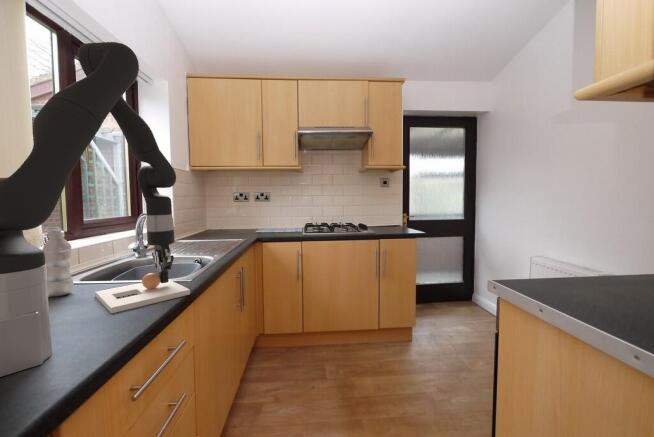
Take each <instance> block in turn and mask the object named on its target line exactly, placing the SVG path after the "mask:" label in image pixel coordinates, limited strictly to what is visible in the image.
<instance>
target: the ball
mask: <svg viewBox="0 0 654 437" xmlns="http://www.w3.org/2000/svg"><path fill="white" fill-rule="evenodd" d="M160 280H161V279H160V276H159V273H156V272H149V273H146V274H145V275H144V276H143V277H142V278H141V283H142V285H143V286H144V287H145V288H147V289H153V288H156V287H157V286H158V285H159V284H160Z"/></svg>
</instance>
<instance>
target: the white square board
mask: <svg viewBox="0 0 654 437" xmlns="http://www.w3.org/2000/svg"><path fill="white" fill-rule="evenodd" d="M168 280H169V281H168V282H167V283H161V282H160V284H159V285H158V286H157V287H156V288H153V289H147V288H145V287H144V286H143V285H142V282H139V283H134V284H128V285H124V286H118V287H112V288H109V289H108V288H107V289H103V290H97V291H94V295H95V298H97V300H98V302H100V303H101V304H102V305H103V306H104V308H106V309H107V311H108V312H109V313H110V314H115V313H118V312H123V311H127V310H132V309H136V308H140V307H143V306H147V305H152V304H155V303H160V302H164V301H168V300H169V301H170V300H172V299H176V298H180V297H184V296H189V295H191V290H190V289H189V288H187V287H185V286H183V285H181V284H179V283H177V282H175V281H172V280H171V279H169V278H168ZM133 294H134V295H133ZM128 295H129V296H128ZM123 296H124V297H123ZM117 297H120V298H117Z"/></svg>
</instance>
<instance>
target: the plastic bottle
mask: <svg viewBox="0 0 654 437" xmlns="http://www.w3.org/2000/svg"><path fill="white" fill-rule="evenodd" d="M65 237H66V235H65V230H51V231H50V230H49V231H47V238H48V240H47V241H46V242H45V244H44V245H43V247H42V250H43V252H44V254H45V263H46V277H47V292H48V297H62V296H65V295H69V294H71V293H72V292H73V290H74V287H75V285H74V284H75V283H74V281H73V278H72V272H71V254H72V245H71V244H70V242H69V241H67V239H65Z"/></svg>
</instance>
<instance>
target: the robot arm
mask: <svg viewBox="0 0 654 437" xmlns="http://www.w3.org/2000/svg"><path fill="white" fill-rule="evenodd" d="M77 58H78V62H79V64H80V67H81V69H82V71H83V73H84V74H85V77H84V78H83V77H82V79H79V80H77V81H76V82H73V83H71V84H69V85H68V86H65V87H64V88H63V89H61V90H59V91H57V92H56V93H54V95H52V96H51V97H50V98H49V99H48V100H47V101H46V103H45V104H44V105H43V106H42V108H41V109H40V110H39V111H38V112H37V114H36V115H35V116H34V119H33V123H32V137H33V139H32V140H33V141H32V142H33V145H32V149H31V152H30V153H29V155H28V156H27V157H26V159H25V160H24V162H23V163H22V164H21V165H20V166H19V167H18V168H17V169H16V170H15V171H14V172H13V173H11V175H10V176H7V177H0V378H1V377H4V376H8V375H11V374H14V373H17V372H21V371H24V370H27V369H30V368H31V369H32V368H33V367H38V366H40V365H43V364H44V362H45V360H47V359H49V358H50V356H52V354H53V345H52V333H51V332H52V331H51V321H50V307H49V305H50V304H49V296H48V292H47V277H46V273H47V270H46V268H47V267H46V263H45V254H44V252H43V249H41V248H39V247H38V246H35V245H33V244H32V243H30V242H29V241H28V240H27V239H26V238H25V235H24V231H28V230H32V229H36V228H38V227H40V226H41V225H43V224H44V223H45V222H47V220H48V219H49V218H50V217H51V215H52V214H53V212H54V210H55V208H56V207H57V204H58V202H59V200H60V198H61V195H62V193H63V191H64V188H65V186H66V185H67V182H68V180H69V178H70V176H71V174H72V172H73V171H74V169H75V167H76V166H77V164H78V163H79V160H80V159H81V157H83V154H84V153H85V151H86V149H87V148H88V147H89V145H90V144H91V143H92V141H93V140H94V138H95V136H96V135H97V134H98V132H99V130H100V129H101V126H102V125H103V124H104V121H105V120H106V118H107V117H108V116H109V114H111V116H112V117H113V118H114V120H115V123H116V124H117V126H118V127H119V128H120V130H121V132H122V134H123V136H124V138H125V140H126V141H125V142H127V145H128V147H129V149H130V151H131V153H132V155H133V157H134V159H135V160H136V161H139V162H141V163H146V164H148V165H143V166H141V167H140V168H139V170H137V179H136V180H137V183H138V186H139V188H140V190H141V191H140V192H141V193H142V196H143V198H144V201H145V209H146V220H145V221H146V222H145V223H146V224H145V225H146V238H147V239H146V240H147V245H148V246H152V247H153V248H154V249H153V251H152V252H151V256H152V259H153V263H154V267H155V269H157V271H158V275H159V276H160V279H161V280H160V282H161V283H167V282H168V281H169V280H170V279H169V271H170V270H171V269H172V266H173V262H174V258H175V257H174V255H171V254H172V251H171V249H170V244H171V245H172V244H174V243H175V238H176V237H175V225H174V223H175V222H174V218H173V217H174V216H173V208H172V207H173V206H172V198H170V197H169V196H167V195H163V194H161V193H160V192H159V190H158V189H169V188H172V187H173V186H175V184H176V182H177V174H176V170H175V169H174V167H173V166H172V164H171V163H170V162H169V160H168V159H167V158H166V156H165V155H164V154H163V152H162V151H161V150H160V148H159V146H158V143H157V140H156V137H155V135H154V133H153V131H152V129H151V127H150V126H149V124H148V123H147V122H146V121H145V120H144V118H142V117H141V116H140V114H138V113H137V111H135V110H134V109H133V108H132V107H131V105H129V103H128V102H127V101H126V100H125V98H124V97H123V95H124V94H125V93H126V92H127V91H128V90H129V89H130V88H131V87H132V85H133V84H134V83H135V82H136V81H137V79H138V75H139V72H140V64H139V59H138V56H137V55H136V53H135V51H134V50H132V48H130V47H129V46H128V45H126V44H125V43H120V42H117V41H104V42H103V41H102V42H100V41H99V42H87V43H83V44H82V45H80V46H79V47H78V51H77ZM168 279H169V280H168Z"/></svg>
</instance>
